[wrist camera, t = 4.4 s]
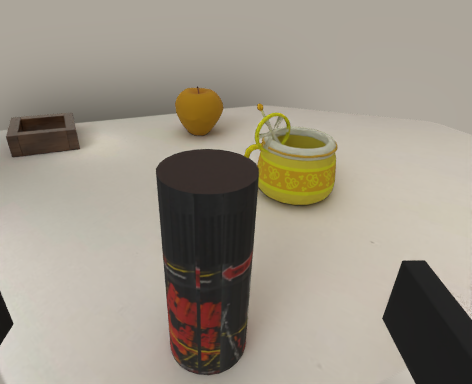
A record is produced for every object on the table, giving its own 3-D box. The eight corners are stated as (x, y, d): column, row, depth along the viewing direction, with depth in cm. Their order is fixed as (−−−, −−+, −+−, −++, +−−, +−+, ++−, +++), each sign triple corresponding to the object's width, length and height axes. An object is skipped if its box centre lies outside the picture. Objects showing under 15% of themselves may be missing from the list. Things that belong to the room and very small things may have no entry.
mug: (328, 177, 53) (343, 99, 47) (334, 215, 44) (353, 124, 38) (246, 168, 55) (251, 92, 49) (235, 203, 45) (238, 114, 40)
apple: (224, 126, 72) (225, 82, 68) (220, 142, 64) (220, 93, 60) (181, 124, 72) (179, 80, 68) (172, 139, 64) (169, 90, 60)
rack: (12, 157, 55) (5, 136, 54) (16, 136, 63) (11, 117, 61) (79, 149, 59) (75, 129, 57) (75, 130, 67) (72, 112, 65)
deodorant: (164, 319, 29) (149, 154, 22) (231, 303, 31) (238, 145, 23) (178, 385, 24) (165, 201, 17) (257, 361, 26) (276, 185, 19)
